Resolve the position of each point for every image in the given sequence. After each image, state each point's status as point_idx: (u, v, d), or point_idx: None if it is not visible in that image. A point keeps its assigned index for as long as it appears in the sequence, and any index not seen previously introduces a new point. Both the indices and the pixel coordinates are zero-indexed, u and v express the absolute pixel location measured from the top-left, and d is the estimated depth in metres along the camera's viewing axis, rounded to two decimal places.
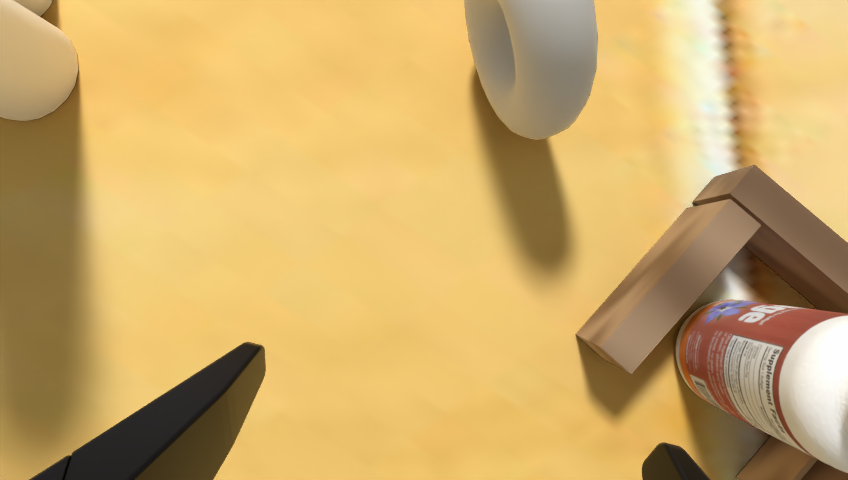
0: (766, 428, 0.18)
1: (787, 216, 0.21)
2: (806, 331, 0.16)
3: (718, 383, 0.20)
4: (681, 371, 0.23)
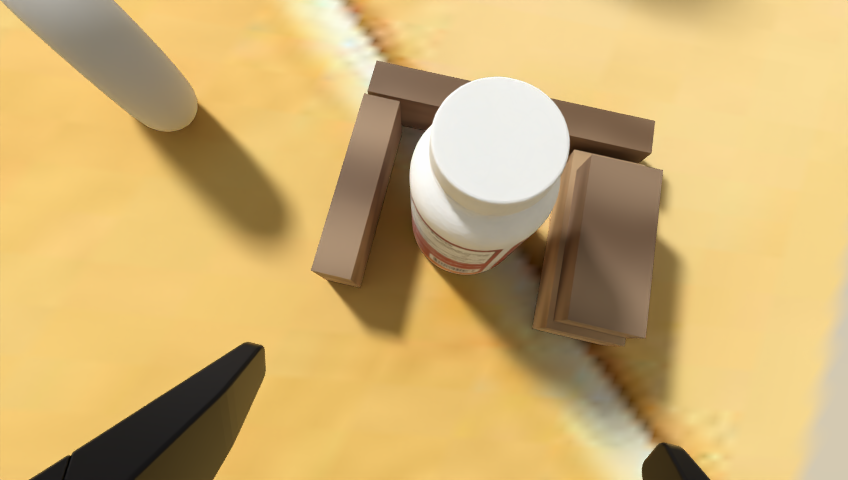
0: (458, 255, 0.18)
1: (423, 86, 0.23)
2: None
3: (427, 245, 0.20)
4: (430, 260, 0.23)
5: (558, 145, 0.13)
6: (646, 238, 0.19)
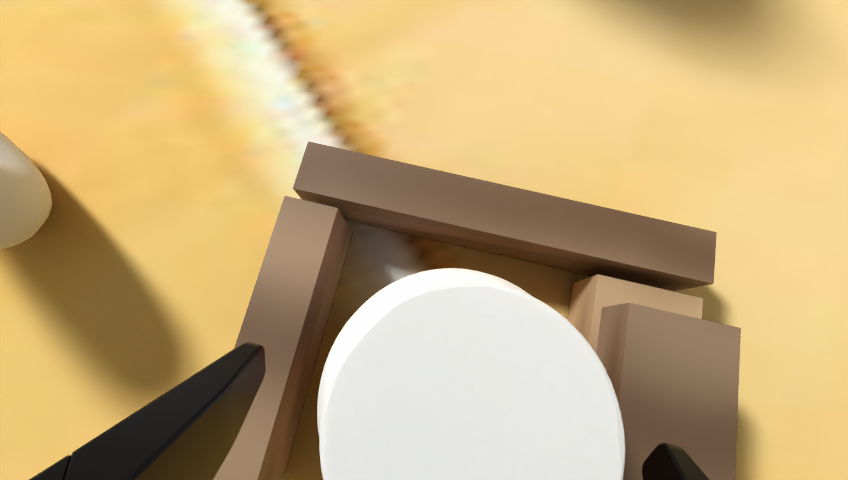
0: None
1: (375, 180, 0.16)
2: None
3: None
4: None
5: (601, 454, 0.06)
6: (720, 448, 0.12)
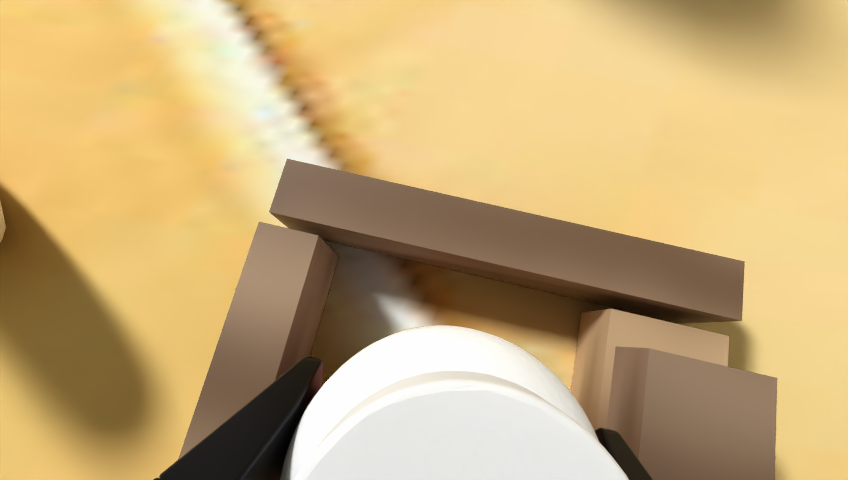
0: None
1: (361, 202, 0.14)
2: None
3: None
4: None
5: None
6: None
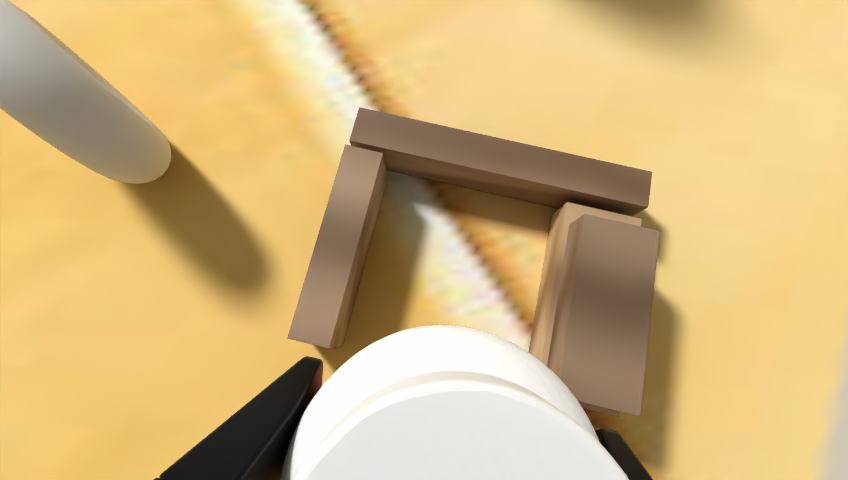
0: None
1: (408, 135, 0.22)
2: None
3: None
4: None
5: None
6: (641, 305, 0.18)
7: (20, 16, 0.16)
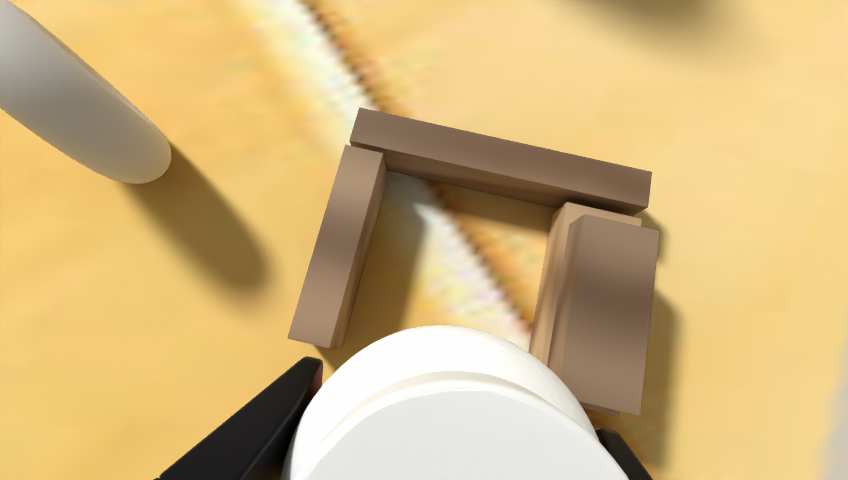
0: None
1: (408, 135, 0.22)
2: None
3: None
4: None
5: None
6: (641, 306, 0.18)
7: (20, 16, 0.16)
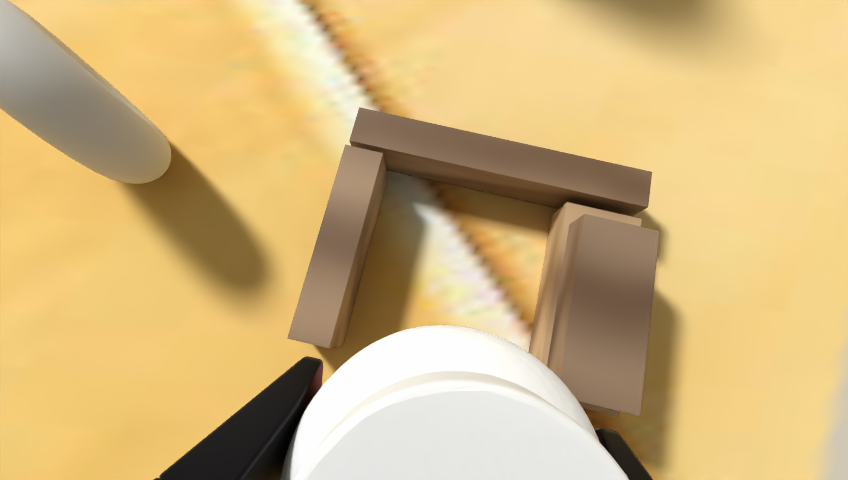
0: None
1: (408, 135, 0.22)
2: None
3: None
4: None
5: None
6: (641, 305, 0.18)
7: (20, 16, 0.16)
